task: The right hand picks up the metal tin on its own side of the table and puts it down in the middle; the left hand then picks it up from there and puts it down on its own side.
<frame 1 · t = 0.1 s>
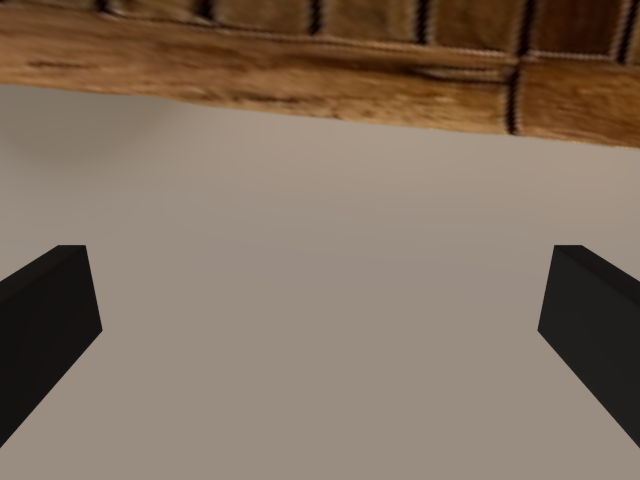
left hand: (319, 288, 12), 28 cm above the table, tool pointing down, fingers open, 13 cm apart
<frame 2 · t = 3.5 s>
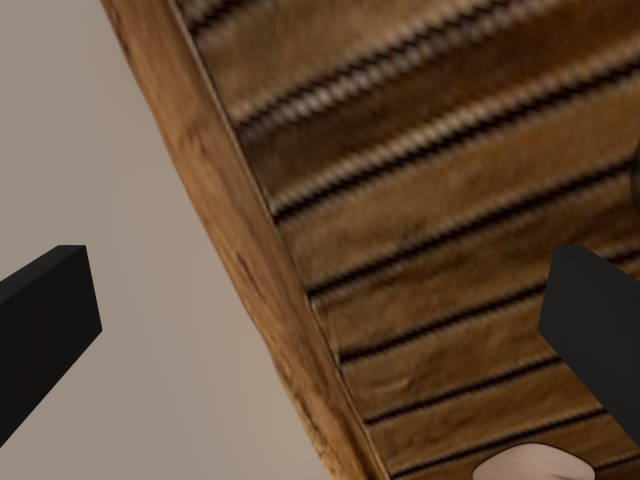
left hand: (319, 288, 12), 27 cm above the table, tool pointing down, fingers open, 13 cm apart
anatomical model: (530, 479, 51), on the table
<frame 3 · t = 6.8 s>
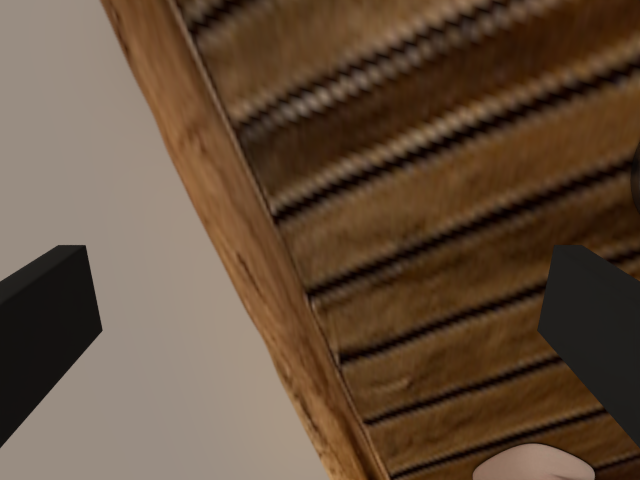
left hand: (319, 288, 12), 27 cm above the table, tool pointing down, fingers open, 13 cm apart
anatomical model: (530, 479, 51), on the table
when the right hand's fingers open (4 cm above the table, at t = 9.9 s): tin drops 2 cm, on the table.
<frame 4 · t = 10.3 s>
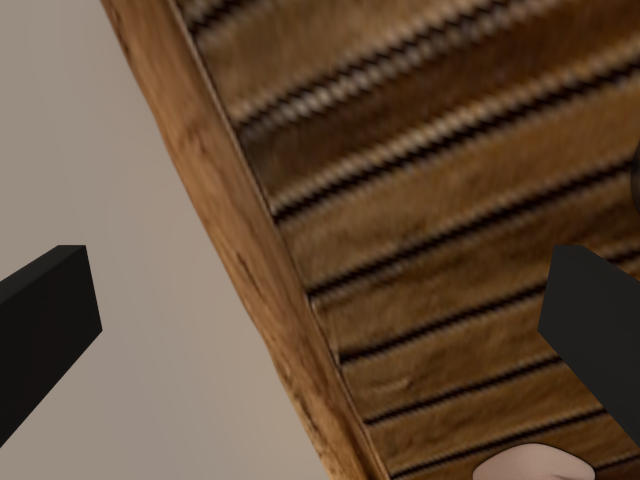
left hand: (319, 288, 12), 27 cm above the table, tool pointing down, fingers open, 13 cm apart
anatomical model: (530, 479, 51), on the table
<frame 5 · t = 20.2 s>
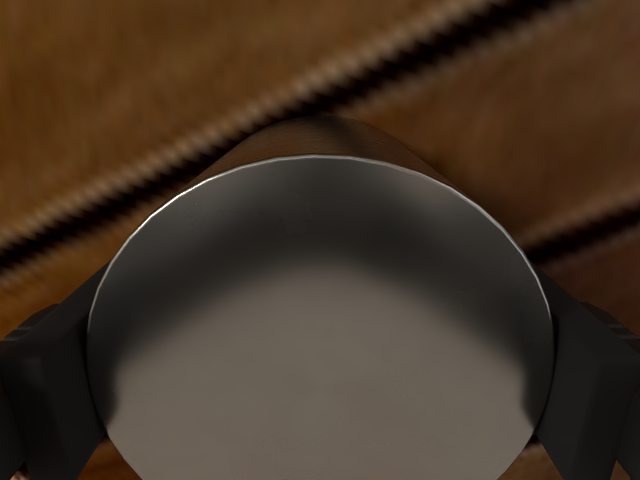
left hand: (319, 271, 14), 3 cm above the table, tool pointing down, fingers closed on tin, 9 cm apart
tin: (320, 241, 16), on the table, touching left hand
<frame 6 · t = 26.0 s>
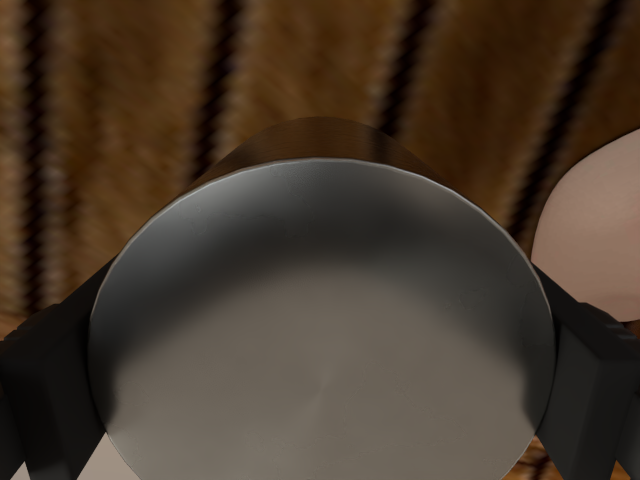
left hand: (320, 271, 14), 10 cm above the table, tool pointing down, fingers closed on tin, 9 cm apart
tin: (320, 242, 16), point 8 cm above the table, touching left hand
when the left hand's fingers open (4 cm above the table, at t = 32.1 s): tin drops 2 cm, on the table.
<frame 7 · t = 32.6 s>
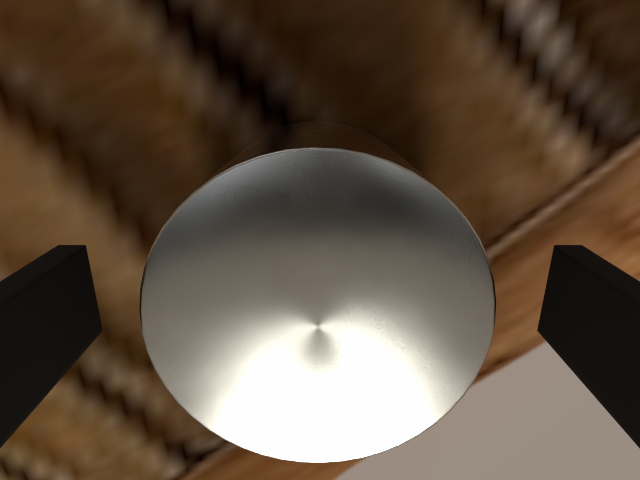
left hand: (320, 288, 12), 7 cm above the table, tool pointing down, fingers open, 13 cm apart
tin: (318, 228, 19), on the table
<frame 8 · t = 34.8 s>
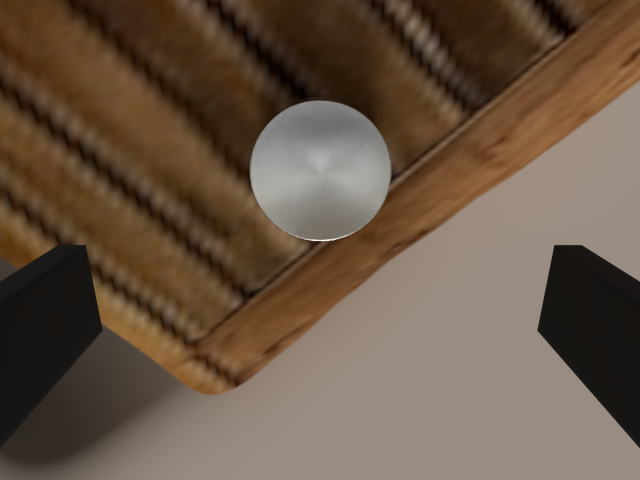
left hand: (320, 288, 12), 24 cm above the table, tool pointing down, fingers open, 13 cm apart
tin: (320, 154, 35), on the table
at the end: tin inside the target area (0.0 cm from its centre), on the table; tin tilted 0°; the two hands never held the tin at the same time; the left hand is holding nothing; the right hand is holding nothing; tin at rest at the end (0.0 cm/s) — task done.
